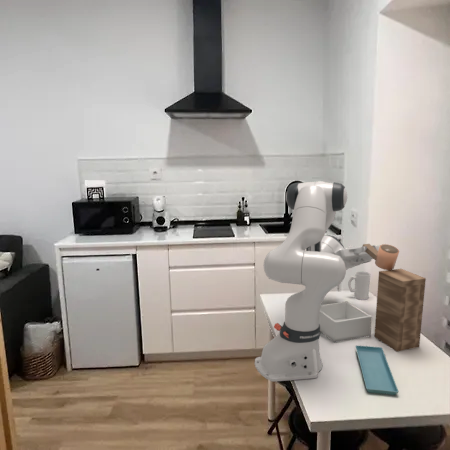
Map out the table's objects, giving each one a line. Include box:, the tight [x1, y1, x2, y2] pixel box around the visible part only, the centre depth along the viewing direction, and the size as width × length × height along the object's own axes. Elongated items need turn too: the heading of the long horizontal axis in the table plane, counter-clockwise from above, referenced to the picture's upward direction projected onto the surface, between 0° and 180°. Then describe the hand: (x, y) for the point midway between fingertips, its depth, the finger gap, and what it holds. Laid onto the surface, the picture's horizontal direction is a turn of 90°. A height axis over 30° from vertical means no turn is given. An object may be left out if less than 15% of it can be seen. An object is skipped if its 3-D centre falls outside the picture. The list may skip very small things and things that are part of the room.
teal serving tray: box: [355, 345, 399, 396], centre depth 133 cm, size 26×9×2 cm, turn 170°
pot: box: [361, 243, 400, 271], centre depth 158 cm, size 16×7×7 cm, turn 18°
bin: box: [319, 301, 373, 343], centre depth 161 cm, size 16×16×8 cm
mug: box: [347, 271, 371, 301], centre depth 195 cm, size 10×7×12 cm, turn 92°
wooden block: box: [374, 268, 427, 352], centre depth 150 cm, size 10×12×26 cm
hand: (370, 247), depth 163 cm, fingers closed on pot, 3 cm apart
